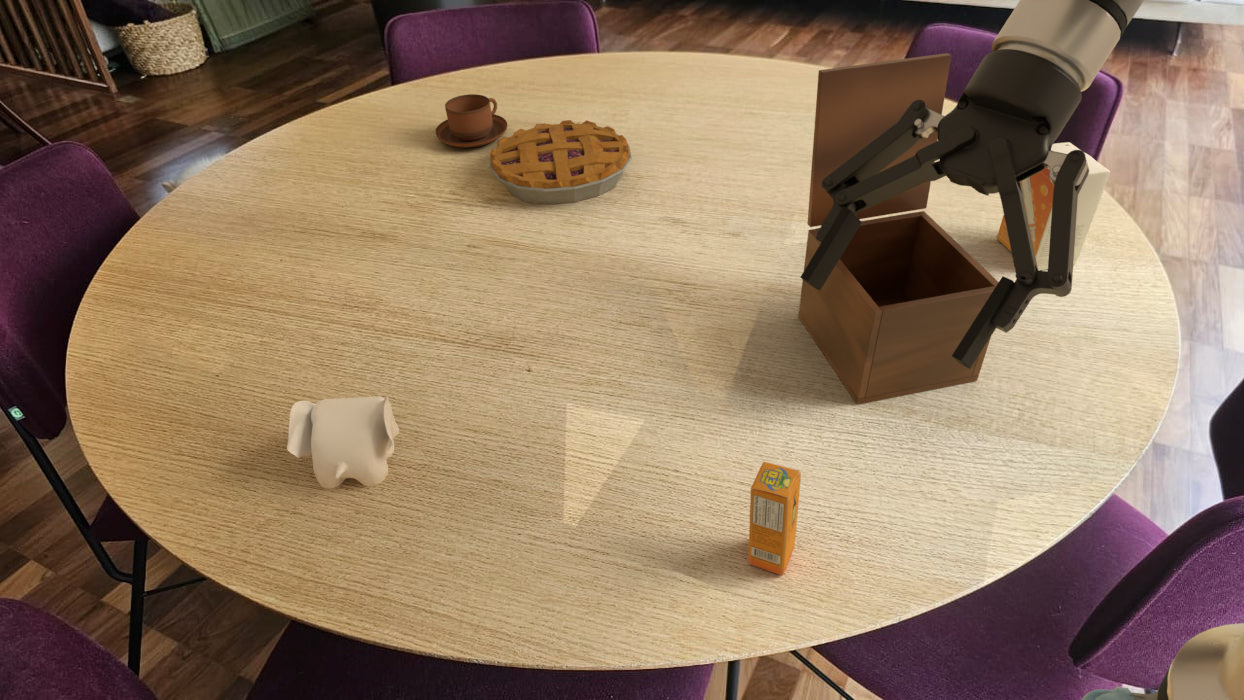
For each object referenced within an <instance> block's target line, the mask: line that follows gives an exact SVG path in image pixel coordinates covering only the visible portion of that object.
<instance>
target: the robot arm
mask: <svg viewBox="0 0 1244 700" xmlns="http://www.w3.org/2000/svg"><path fill="white" fill-rule="evenodd" d="M1144 2H1145V0H1019V1H1018V3H1017V4H1016V6H1015V7H1014V8H1013V10H1012V12H1011V14H1010V15H1009V17H1008V18H1007V19H1006V21H1005V23H1004V25H1002V28H1001V29H1000V31H999V32H998V34H997V35H996V36H995V38H994V40H993V42H992V43H991V51H992V52H988V53H987V54H985V56H984V57H983V58H982V60H981V62H980V63H979V65H978V67H977V68H976V69H975V72H974V73H973V75H972V77H971V78H970V79H969V81H968V83H967V85H966V86H965V88H964V89H963V91H962V92H961V95H960V98H959V100H958V102H957V104H956V105H955V107H954V108H953V109H952V110H951V111H949V112H948V113H947V114H946V115H943V114H942V115H941V114H939V113H937V112H935V111H932V110H930V109H928V107H927V106H926V104H925V102H924V101H923V100H916V101H914V102H913V103H912V104H911V105H910V106H909V108H908V109H907V110H906V112H905V113H904V114H903V116H902V117H901V118H900V120H899V121H898V122H897V123H896V124H895V125H893V126H892V127H891V128H889V129H888V130H887V131H885V132H884V133H883V134H882V135H880V136H879V137H878V138H876V139H875V140H874V141H872V142H871V143H870V144H869V145H867V146H866V147H865V148H863V149H862V150H861V151H859V152H858V153H857V154H855V155H854V156H853V157H852V158H850V159H849V160H848V161H846V162H845V163H844V164H842V165H841V166H840V167H839V168H837V169H836V170H835V171H833V172H832V173H831V174H829V175H828V176H827V177H826V178H824V180H823V181H822V187H823V188H824V190H825V191H826V192H827V193H828V194H829V195H830V196H831V197H832V199H833V201H834V204H833V207H832V209H831V211H830V212H829V214H828V216H827V217H826V219H825V220H824V223H823V224H822V225H821V226H819V228H820V229H819V230H818V232H817V235H816V240H817V241H818V242H820V243H821V244H820V246H819V247H818V249H817V251H816V252H815V254H814V256H813V257H812V259H811V260H810V262H809V264H808V265H807V267H806V269H805V270H804V269H803V271H802V273H801V275H800V278H799V279H802V281H803V280H804V281H806V282H807V283H808V284H809V285H811V286H812V287H814V288H816V289H817V290H819V291H820V290H821V288H822V287H823V285H824V284H825V282H826V280H827V279H828V277H829V275H830V274H831V272H832V270H833V269H834V267H835V266H836V264H837V262H838V261H839V259H840V257H841V256H842V254H843V252H844V251H845V249H846V248H847V246H848V244H849V243H850V241H851V239H852V238H853V236H854V235H855V233H856V231H857V230H858V228H859V226H860V225H861V223H862V222H861V221H862V219H859V218H858V217H857V216H856V215H857V213H859V212H862V211H864V210H866V209H868V208H870V207H872V206H875V205H877V204H879V203H881V202H883V201H885V200H888V199H890V198H892V197H894V196H896V195H898V194H901V193H903V192H905V191H907V190H909V189H911V188H913V187H916V186H918V185H920V184H922V183H924V182H927V181H931V182H936V181H938V180H940V179H942V178H944V177H947V178H948V180H949V181H950V182H951V183H952V184H955V185H958V186H964V187H971V188H972V189H973V190H975V191H976V192H977V193H979V194H982V195H984V196H986V197H987V196H989V195H991V194H999V198H1000V201H1001V207H1002V211H1003V215H1004V217H1005V222H1006V227H1007V232H1008V237H1009V242H1010V247H1011V251H1012V252H1011V251H1010V252H1011V257H1012V261H1013V265H1014V271H1015V274H1014V276H1015V278H1016V279H1015V281H1014V280H1013V279H1010V278H1009V277H1006V276H1004V275H1002V277H1001V278H1000V280H999V281H998V282H999V283H998V284H997V286H996V287H995V289H994V290H993V292H992V294H991V295H990V297H989V298H988V300H987V301H986V303H985V305H984V306H983V308H982V309H981V311H980V312H979V314H978V316H977V317H976V319H975V320H974V322H973V323H972V325H971V326H970V328H969V330H968V331H967V333H966V334H965V336H964V337H963V339H962V341H961V342H960V344H959V345H958V347H957V348H956V350H955V351H954V353H953V355H952V357H953V358H954V359H955V360H957V361H958V362H959V363H960V364H961V365H963V366H965V367H967V368H969V369H970V368H971V366H972V365H973V363H974V362H975V360H976V359H977V357H978V356H979V354H980V352H981V351H982V349H983V348H984V346H985V345H986V343H987V342H988V340H989V339H990V340H991V338H992V336H993V334H994V332H995V331H996V330H1000V331H1001V332H1003V333H1005V334H1006V333H1009V332H1010V331H1011V330H1013V329H1014V327H1015V326H1016V324H1017V323H1018V321H1019V320H1020V318H1021V316H1022V315H1023V313H1024V312H1025V310H1026V309H1027V308H1028V307H1029V306H1028V305H1029V304H1030V303H1031V301H1032V300H1033V298H1035V297H1036V296H1038V295H1042V294H1043V295H1055V296H1056V297H1057V298H1064V297H1067V296H1069V295H1070V293H1071V292H1072V288H1073V275H1074V265H1073V261H1074V246H1075V231H1076V216H1077V201H1078V194H1079V192H1080V190H1081V188H1082V186H1083V184H1084V182H1085V180H1086V178H1087V176H1088V174H1089V168H1088V163H1087V160H1086V156H1085V153H1086V152H1085V151H1083V150H1081V149H1080V150H1074V151H1071V152H1070V153H1068V154H1065V153H1060V152H1055V151H1051V147H1052V145H1053V144H1055V141H1056V140H1057V139H1058V137H1059V136H1060V135H1061V133H1062V131H1063V129H1064V128H1065V127H1066V125H1067V123H1068V122H1069V121H1070V119H1071V117H1072V116H1073V115H1074V113H1075V111H1076V109H1077V108H1078V106H1079V104H1080V103H1081V101H1082V100H1083V99H1082V97H1083V95H1082V92H1084V91H1086V90H1087V89H1089V88H1090V86H1091V85H1092V83H1093V82H1094V80H1095V79H1096V77H1097V75H1098V74H1099V72H1100V71H1101V69H1102V68H1103V66H1104V64H1105V63H1106V61H1107V60H1108V58H1109V57H1110V55H1111V54H1112V52H1113V50H1114V49H1115V48H1116V46H1117V44H1118V42H1119V41H1120V39H1121V37H1122V36H1123V34H1124V33H1125V30H1126V29H1127V27H1128V25H1129V24H1130V23H1131V21H1132V19H1133V18H1134V16H1135V15H1136V13H1137V12H1138V11H1139V9H1140V7H1141V6H1142V5H1143V3H1144ZM932 132H937V136H938V140H937V142H935V143H932V144H930V145H928V146H926V147H924V148H922V149H920V150H919V151H917V153H916V154H915V156H913V157H911V158H909V159H907V160H905V161H903V162H901V163H898V164H896V165H894V166H892V167H890V168H888V169H886V170H884V171H882V172H880V171H881V170H882V169H884V168H885V167H886V166H888V165H889V164H890V163H892V162H893V161H894V160H896V159H897V158H898V157H900V156H901V155H902V154H904V153H905V152H906V151H908V150H909V149H910V148H911V147H913V146H914V145H915V144H916V143H917V142H918V141H919V140H920V138H924V139H925V138H928V137H929V134H931V133H932ZM1045 168H1047V169H1048V170H1049V177H1050V180H1051V182H1052V184H1054V191H1053V205H1052V218H1051V232H1050V246H1049V260H1048V269H1047V270H1040V271H1038V266H1037V261H1036V257H1035V252H1034V247H1033V242H1032V238H1031V233H1030V228H1029V224H1028V219H1027V214H1026V209H1025V202H1024V197H1023V192H1022V188H1021V183H1020V182H1021V181H1023V180H1025V179H1027V178H1029V177H1031V176H1033V175H1035V174H1037V173H1039V172H1040V171H1042V170H1043V169H1045ZM878 172H880V173H878ZM877 173H878V174H877ZM990 337H991V338H990ZM1080 700H1244V622H1240V623H1239V622H1238V623H1232V624H1231V623H1230V624H1229V623H1228V624H1224V625H1219V626H1216V627H1215V626H1214V627H1211V628H1209V629H1207V630H1204V631H1202V632H1200V633H1198V634H1196V635H1195V636H1193V637H1192V638H1190V639H1188V640H1187V641H1186V642H1185V643H1184V644H1183V645H1182V646H1181V648H1180V649H1179V650H1178V651H1177V653H1176V654H1175V657H1174V658H1173V660H1172V662H1171V663H1170V666H1169V667H1168V669H1167V671H1166V673H1165V674H1164V676H1163V679H1162V680H1161V682H1160V685H1159V687H1158V688H1157V690H1156V691H1154V692H1153V693H1141V692H1140V693H1139V692H1133V691H1132V692H1131V690H1130V689H1129V687H1124V686H1123V687H1122V686H1115V687H1114V688H1112V689H1103V688H1102V689H1100V688H1099V689H1094V690H1091V691H1089V692H1087V693H1086V694H1084V696H1083V697H1082V698H1081V699H1080Z"/></svg>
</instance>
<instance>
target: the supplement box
mask: <svg viewBox="0 0 1244 700" xmlns="http://www.w3.org/2000/svg"><path fill="white" fill-rule="evenodd" d="M801 478H802V472H801V470H799V469H794V468H790V467H787V466H783V465H778V464H776V463H772V462H768V461H763V462H762V464H761V466H760V468H759V470H758V473H757V474H756V477H755V479H754V481H753V483H752V485H751V487H750V503H749V529H748V530H749V531H748V532H749V535H748V559H747V563H748V565H750V566H752V567H755V568H757V569H761V570H765V571H768V572H769V573H770V572H771V573H774V574H777V575H780V576H784V575H785V572H786V570H787V567H788V565H789V562H790V560H791V558H792V555H793V552H794V550H795V544H796V534H797V526H798V516H799V505H800V493H801V492H800V490H801Z"/></svg>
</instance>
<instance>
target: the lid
mask: <svg viewBox="0 0 1244 700" xmlns="http://www.w3.org/2000/svg"><path fill="white" fill-rule="evenodd" d="M951 61H952V54H949V53H948V52H946V53H945V52H944V53H938V54H931V55H930V54H929V55H924V56H923V55H922V56H916V57H908V58H901V59H899V58H898V59H892V60H886V61H878V62H871V63H862V64H855V65H854V64H853V65H846V66H840V67H832V68H825V69H819V70H818V74H817V89H816V101H815V115H814V116H815V117H814V131H813V142H812V143H813V144H812V145H813V146H812V156H811V170H810V183H809V184H810V185H809V197H808V198H809V199H808V200H809V201H808V210H807V226H808V227H810V228H815V227H821V225H822V224H823V223H824V220H825V219H826V217H827V216H828V214H829V212H830V211H831V209H832V207H833V204H834V201H833V199H832V197H831V196H830V195H829V194H828V193H827V192H826V191H825V190H824V188H823V187H822V181H823V180H824V178H826V177H827V176H828V175H829V174H831V173H832V172H833V171H835V170H836V169H837V168H839V167H840V166H841V165H842V164H844V163H845V162H846V161H848V160H849V159H850V158H852V157H853V156H854V155H855V154H857V153H858V152H859V151H861V150H862V149H863V148H865V147H866V146H867V145H869V144H870V143H871V142H872V141H874V140H875V139H876V138H878V137H879V136H880V135H882V134H883V133H884V132H885V131H887V130H888V129H889V128H891V127H892V126H893V125H895V124H896V123H897V122H898V121H899V120H900V118H901V117H902V116H903V114H904V113H905V112H906V110H907V109H908V108H909V106H910V105H911V104H912V103H913V102H914V101H916V100H923V101H924V102H925V104H926V106H927V107H928V109H930V110H932V111H935V112H937V113H939V114H941V115H943V110H944V102H945V97H946V90H947V84H948V78H949V72H950V66H951ZM937 141H938V136H937V132H932V133H931V134H929V137H928V138H925V139H924V138H920V140H919V141H918V142H917V143H916V144H915V145H914V146H913V147H911V148H910V149H909V150H908V151H906V152H905V153H904V154H902V155H901V156H900V157H898V158H897V159H896V160H894V161H893V162H892V163H890V164H889V165H888V166H886V167H885V168H884V169H882V170H881V171H880V172H882V171H884V170H886V169H888V168H890V167H892V166H894V165H896V164H898V163H901V162H903V161H905V160H907V159H909V158H911V157H913V156H915V154H916V153H917V151H919V150H920V149H922V148H924V147H926V146H928V145H930V144H932V143H935V142H937ZM880 172H878V173H880ZM878 173H877V174H878ZM931 182H932V181H927V182H924V183H922V184H920V185H918V186H916V187H913V188H911V189H909V190H907V191H905V192H903V193H901V194H898V195H896V196H894V197H892V198H890V199H888V200H885V201H883V202H881V203H879V204H877V205H875V206H872V207H870V208H868V209H866V210H864V211H862V212H859V213H857V215H856V216H857V217H858V218H859V219H860V220H865V219H869V218H875V217H876V218H877V217H881V216H882V217H883V216H888V215H895V214H899V213H906V212H912V211H918V210H924V209H927V207H928V201H929V195H930V188H931V184H932V183H931Z"/></svg>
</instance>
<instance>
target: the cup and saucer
mask: <svg viewBox="0 0 1244 700" xmlns="http://www.w3.org/2000/svg"><path fill="white" fill-rule="evenodd" d="M491 103H492V105H493V108H491ZM444 109H445V114H446V119H445V120H443V121H442V122H441V123H439V124H438V125H437V126H436V128H435V136H436V137H437V139H438V140H440V142H442V143H443V144H446V145H448V146H451V147H456V148H477V147H481V146H485V145H488V144H491V143H493V142H495V141H498V140H500V139H501V137H502V136H503V135H504V134H505V133H506V132H507V129H508V122H507V120H506V119H505V118H504V117H502V116H501V115H498V114H496V112H497V110H498V102H497V101H496V99H495V98H493V97H487V96H485V95H483V94H477V93H476V94H474V93H473V94H463V95H458V96H455V97H452V98H450V99H448V100H447V101H446V102H445V104H444Z"/></svg>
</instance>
